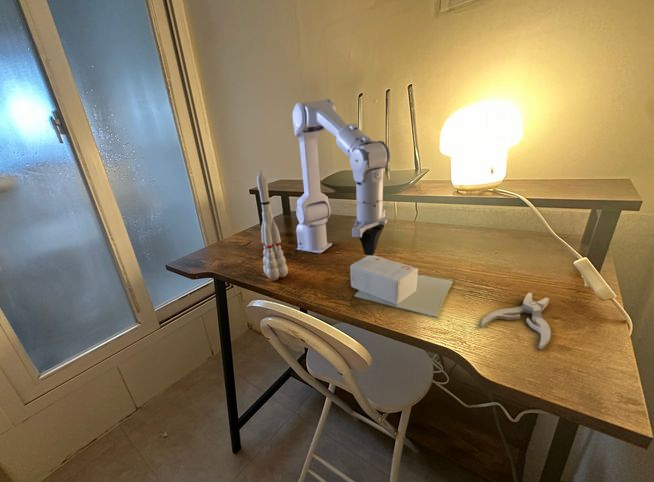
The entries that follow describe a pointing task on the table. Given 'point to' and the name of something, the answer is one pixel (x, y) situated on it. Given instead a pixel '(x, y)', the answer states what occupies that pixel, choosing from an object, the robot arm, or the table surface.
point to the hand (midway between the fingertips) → (369, 254)
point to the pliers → (537, 318)
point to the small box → (384, 278)
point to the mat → (419, 296)
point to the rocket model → (270, 236)
